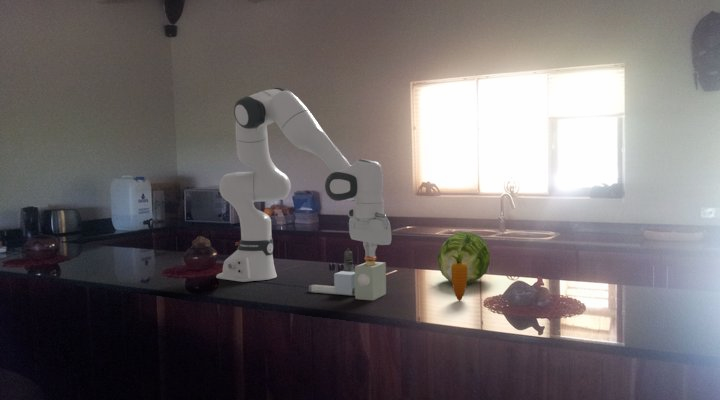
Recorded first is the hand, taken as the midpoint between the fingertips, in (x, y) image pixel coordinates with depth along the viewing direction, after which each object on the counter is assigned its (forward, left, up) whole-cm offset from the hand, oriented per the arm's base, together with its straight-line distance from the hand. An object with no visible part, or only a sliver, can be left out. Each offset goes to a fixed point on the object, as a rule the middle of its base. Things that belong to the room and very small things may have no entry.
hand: (370, 256), depth 184 cm
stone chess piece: (-17, +19, -13) cm, 29 cm away
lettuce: (+21, +30, -13) cm, 39 cm away
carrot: (+27, +4, -13) cm, 30 cm away
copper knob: (0, 0, -6) cm, 6 cm away
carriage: (-9, 0, -12) cm, 15 cm away
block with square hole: (0, 0, -12) cm, 12 cm away
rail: (-12, 0, -12) cm, 17 cm away
